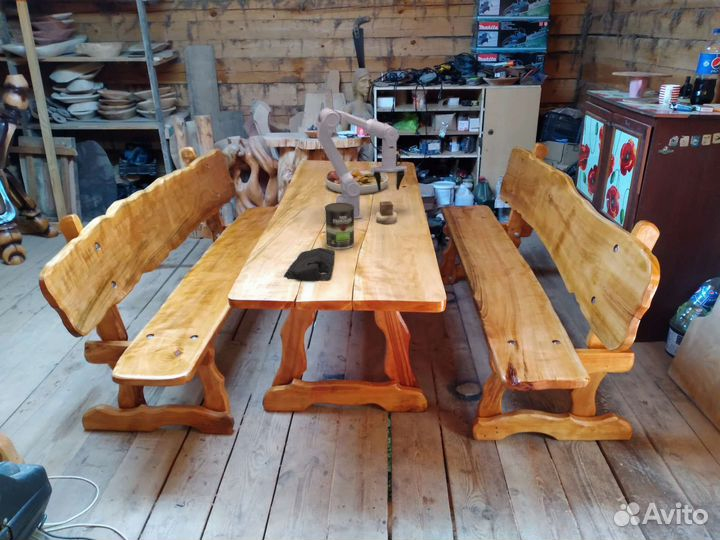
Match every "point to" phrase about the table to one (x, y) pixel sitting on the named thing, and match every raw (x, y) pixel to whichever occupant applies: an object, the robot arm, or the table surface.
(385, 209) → the walnut cube
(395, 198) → the table surface
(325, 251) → the dark slate chunk
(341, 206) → the coffee can
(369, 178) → the bowl
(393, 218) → the birch round
